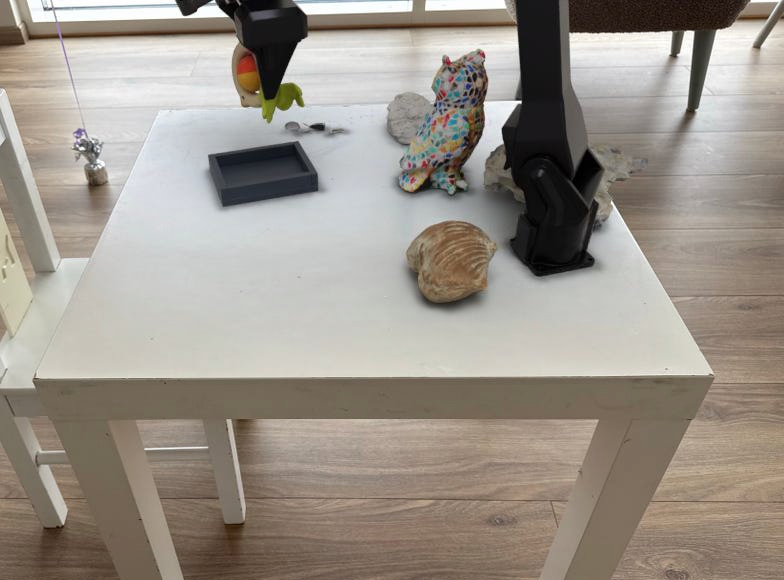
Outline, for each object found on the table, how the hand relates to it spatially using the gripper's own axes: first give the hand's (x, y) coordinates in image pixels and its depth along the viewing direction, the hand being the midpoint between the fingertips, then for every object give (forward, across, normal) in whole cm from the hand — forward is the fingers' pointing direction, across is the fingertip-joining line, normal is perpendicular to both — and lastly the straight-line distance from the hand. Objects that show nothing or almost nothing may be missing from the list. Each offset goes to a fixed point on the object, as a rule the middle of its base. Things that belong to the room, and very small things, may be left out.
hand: (260, 84), depth 79 cm
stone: (+13, -10, +23) cm, 28 cm away
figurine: (+13, +4, +20) cm, 24 cm away
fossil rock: (+10, +6, +33) cm, 35 cm away
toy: (+13, -13, +9) cm, 20 cm away
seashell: (+13, +24, +13) cm, 30 cm away
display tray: (+13, -3, 0) cm, 13 cm away
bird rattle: (+3, 0, 0) cm, 3 cm away
